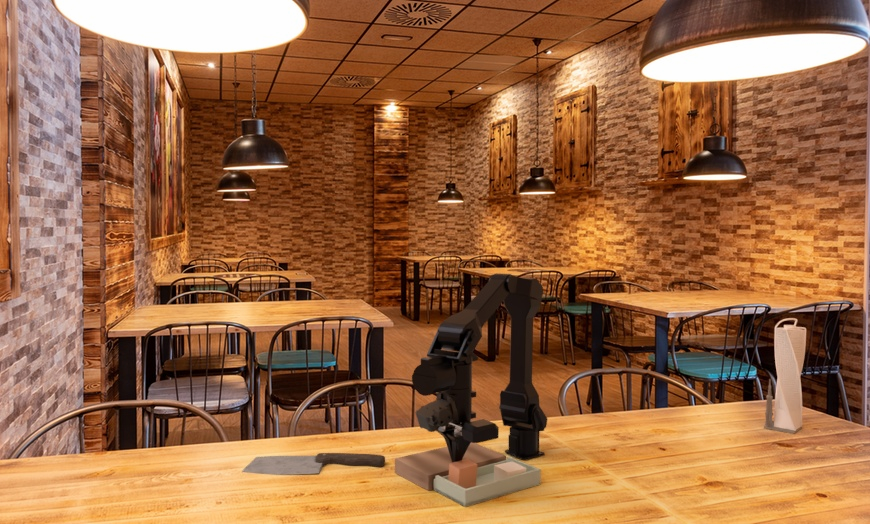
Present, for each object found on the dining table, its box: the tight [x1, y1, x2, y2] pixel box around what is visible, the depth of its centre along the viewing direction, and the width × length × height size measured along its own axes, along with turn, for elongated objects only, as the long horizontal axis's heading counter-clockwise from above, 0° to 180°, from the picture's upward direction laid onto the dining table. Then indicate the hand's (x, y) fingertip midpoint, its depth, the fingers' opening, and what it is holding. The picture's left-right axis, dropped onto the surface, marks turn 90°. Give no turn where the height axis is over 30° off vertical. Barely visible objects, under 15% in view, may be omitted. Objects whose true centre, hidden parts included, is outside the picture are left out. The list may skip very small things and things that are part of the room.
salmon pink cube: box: [448, 459, 477, 489], centre depth 128 cm, size 4×4×3 cm
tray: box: [433, 456, 542, 508], centre depth 130 cm, size 19×10×3 cm, turn 126°
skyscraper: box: [763, 317, 807, 434], centre depth 170 cm, size 8×8×28 cm
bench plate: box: [394, 442, 507, 492], centre depth 139 cm, size 20×12×3 cm, turn 126°
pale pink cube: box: [494, 461, 526, 481], centre depth 131 cm, size 4×4×3 cm
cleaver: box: [241, 452, 386, 476], centre depth 141 cm, size 29×10×2 cm, turn 90°
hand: (456, 465), depth 130 cm, fingers closed
